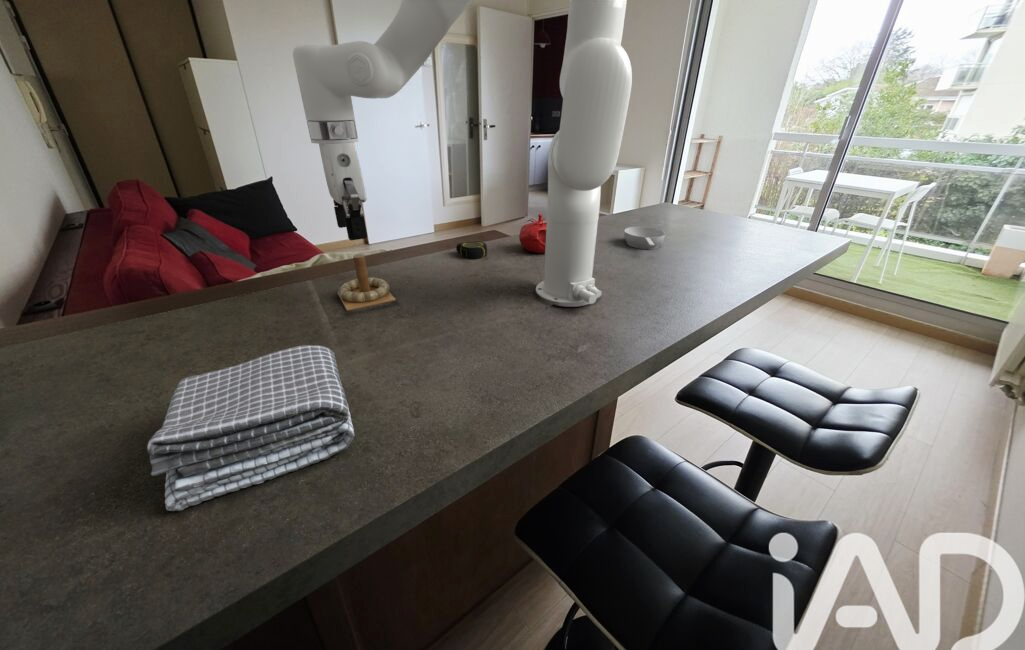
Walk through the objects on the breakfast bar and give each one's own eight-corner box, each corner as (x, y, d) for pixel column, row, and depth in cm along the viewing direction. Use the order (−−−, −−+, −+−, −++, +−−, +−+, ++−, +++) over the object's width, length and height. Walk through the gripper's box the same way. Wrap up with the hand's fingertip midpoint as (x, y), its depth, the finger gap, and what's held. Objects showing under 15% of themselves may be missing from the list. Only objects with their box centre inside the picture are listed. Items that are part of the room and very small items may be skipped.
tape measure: (481, 252, 108) (481, 238, 106) (491, 260, 102) (491, 246, 100) (456, 255, 105) (455, 241, 103) (464, 264, 100) (464, 249, 98)
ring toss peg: (396, 304, 80) (389, 259, 75) (347, 315, 76) (338, 267, 71) (383, 288, 87) (376, 245, 82) (338, 297, 82) (328, 252, 78)
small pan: (659, 239, 119) (661, 226, 117) (671, 260, 103) (674, 245, 102) (621, 237, 120) (622, 224, 118) (627, 258, 105) (629, 243, 103)
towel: (361, 451, 46) (349, 395, 43) (159, 520, 39) (121, 459, 35) (340, 380, 58) (329, 331, 54) (181, 421, 50) (155, 368, 47)
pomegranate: (511, 251, 109) (512, 215, 104) (532, 241, 116) (533, 208, 112) (544, 258, 104) (545, 221, 99) (563, 248, 111) (565, 213, 107)
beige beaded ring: (395, 297, 80) (394, 288, 79) (345, 307, 76) (343, 298, 75) (381, 281, 87) (380, 273, 86) (335, 290, 83) (334, 281, 82)
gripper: (368, 134, 65) (384, 241, 73) (345, 129, 78) (361, 220, 86) (317, 136, 62) (340, 248, 70) (302, 130, 75) (323, 224, 83)
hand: (352, 232), depth 78 cm, fingers open, 9 cm apart
